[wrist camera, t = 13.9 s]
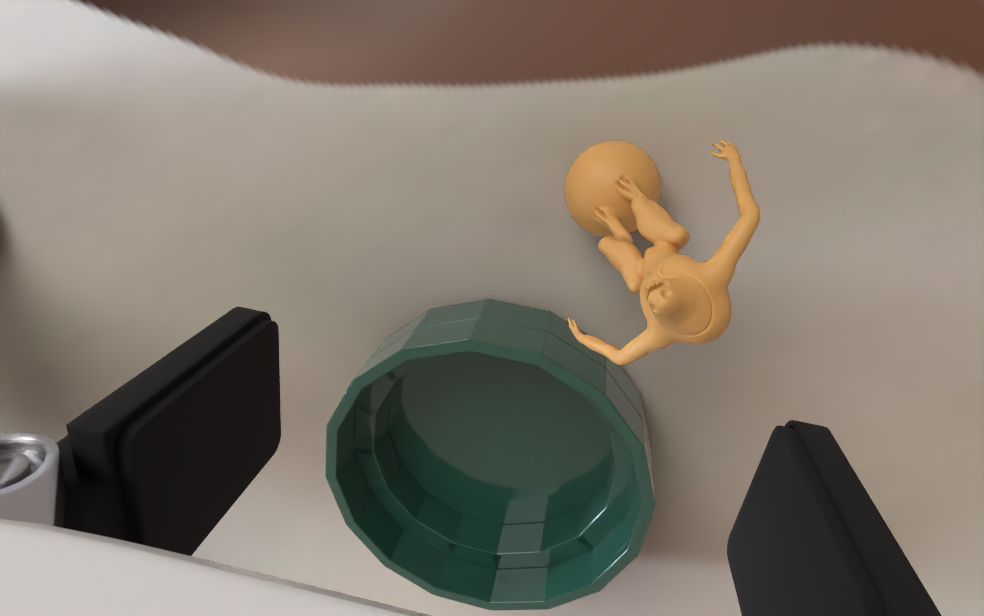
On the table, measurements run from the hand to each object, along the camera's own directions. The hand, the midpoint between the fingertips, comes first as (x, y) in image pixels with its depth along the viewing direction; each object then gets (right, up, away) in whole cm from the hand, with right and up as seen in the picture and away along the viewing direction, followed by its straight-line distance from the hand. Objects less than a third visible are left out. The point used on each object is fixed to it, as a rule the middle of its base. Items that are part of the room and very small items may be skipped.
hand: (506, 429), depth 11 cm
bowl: (0, -5, +22) cm, 23 cm away
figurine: (+6, +8, +16) cm, 18 cm away
